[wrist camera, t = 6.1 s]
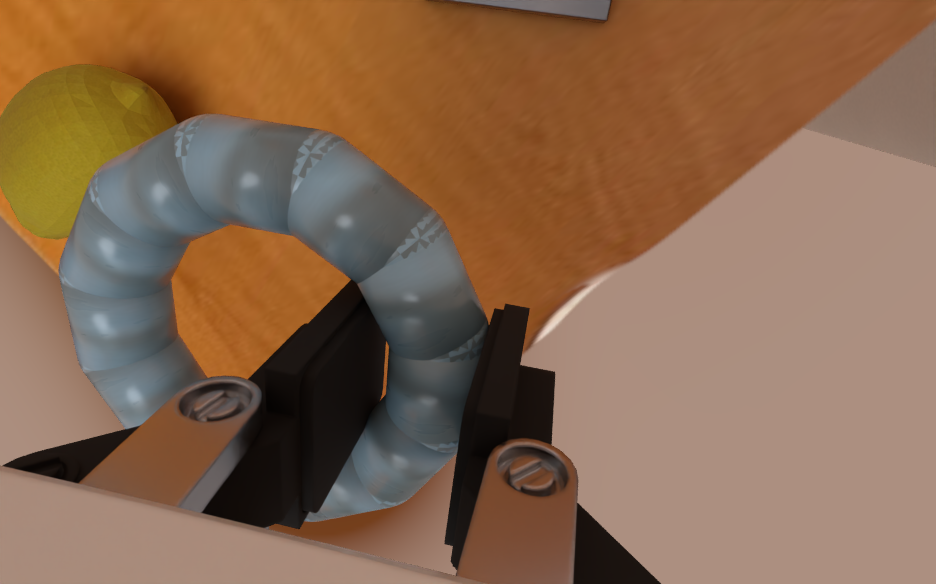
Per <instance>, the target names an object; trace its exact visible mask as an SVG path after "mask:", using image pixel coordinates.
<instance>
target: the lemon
mask: <svg viewBox="0 0 936 584" xmlns="http://www.w3.org/2000/svg"><path fill="white" fill-rule="evenodd" d="M175 125H177V122H176V120H175V118H174V116H173V114H172V112H171V110H170V109H169V107H168V106H167V104H166V103H165V101H164V100H163V98H162V97H161V96H160V95H159V94H158V93H157V92H156V91H155V90H154V89H153V88H151V87H150V86H149V85H147V84H146V83H144V82H143V81H141V80H140V79H138V78H135V77H133V76H130V75H128V74H125V73H123V72H120V71H118V70H115V69H113V68H109V67H104V66H98V65H90V64H78V65H71V66H65V67H62V68H58V69H55V70H52V71H49V72H46V73H43V74H41V75H39V76H38V77H36V78H34V79H33V80H31V81H30V82H29V83H28V84H27V85H26V86H25V87H24V88H22V89H21V90H20V91H19V92H18V93H17V94H16V95H15V96H14V97H13V99H12V100H11V101H10V102H9V104H8V105H7V107H6V108H5V110H4V111H3V113H2V115H1V117H0V186H1V189H2V191H3V193H4V195H5V197H6V199H7V200H8V201H9V203H10V205H11V207H12V209H13V211H14V213H15V215H16V217H17V219H18V221H19V222H20V223H21V224H22V226H23V227H25V228H26V229H28V230H29V231H30V232H31V233H33V234H34V235H36V236H38V237H42V238H49V239H62V238H66V237H69V235H70V232H71V229H72V227H73V224H74V221H75V219H76V216H77V213H78V211H79V208H80V205H81V203H82V200H83V197H84V195H85V192H86V189H87V187H88V184H89V182H90V180H91V178H92V177H93V175H94V173H95V172H96V171H97V170H98V168H100V167H101V166H102V165H103V164H105V163H106V162H107V161H109V160H110V159H112V158H114V157H116V156H118V155H120V154H122V153H124V152H126V151H128V150H130V149H131V148H133V147H135V146H137V145H139V144H141V143H143V142H145V141H147V140H148V139H150V138H152V137H154V136H156V135H158V134H160V133H162V132H164V131H166V130H167V129H169V128H171V127H173V126H175Z"/></svg>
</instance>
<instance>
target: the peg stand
mask: <svg viewBox="0 0 936 584" xmlns="http://www.w3.org/2000/svg"><path fill="white" fill-rule="evenodd" d="M428 1H436V2H444V3H451V4H459V5H467V6H475V7H483V8H490V9H498V10H506V11H514V12H522V13H529V14H537V15H545V16H553V17H561V18H569V19H576V20H584V21H592V22H600V23H605V22H606V21H607V20H608V15H609V10H610V6H611V1H612V0H428Z"/></svg>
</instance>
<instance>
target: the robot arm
mask: <svg viewBox="0 0 936 584" xmlns="http://www.w3.org/2000/svg"><path fill="white" fill-rule="evenodd" d="M529 309H530V308H526V307H520V306H515V305H509V304H505V307H504V310H501V309H496V308H495V309H494V312H493V315H492V318H491V322H490V325H489V328H488V331H487V335H486V338H485V341H484V344H483V348H482V351H481V354H480V357H479V361H478V364H477V367H476V370H475V374H474V377H473V380H472V383H471V387H470V390H469V393H468V396H467V400H466V403H465V407H464V412H463V417H462V422H461V429H460V436H459V443H458V450H457V457H456V464H455V472H454V479H453V486H452V493H451V500H450V508H449V514H448V522H447V528H446V536H445V544H447V545H451V546H453V549H452V556H451V563H452V564H453V567H455V568H456V570H457V573H456V576H455V575H450V574H446V573H443V572H439V571H434V570H431V569H427V568H423V567H419V566H415V565H411V564H407V563H403V562H399V561H395V560H391V559H386V558H382V557H379V556H374V555H371V554H367V553H363V552H359V551H355V550H350V549H346V548H342V547H338V546H334V545H330V544H326V543H321V542H318V541H313V540H310V539H305V538H302V537H298V536H293V535H289V534H285V533H281V532H277V531H272V530H269V526H271V525H274V524H280V525H284V526H288V527H292V528H296V529H300V527H301V525H302V524H303V522H304V520H305V519H306V517H307V515H308V514H309V512H311V513H317V512H318V511H319V510H320V508H321V507H322V505H323V503H324V501H325V499H326V498H327V496H328V494H329V492H330V490H331V489H332V487H333V485H334V483H335V481H336V480H337V478H338V476H339V474H340V472H341V471H342V469H343V467H344V465H345V463H346V462H347V460H348V458H349V456H350V454H351V452H352V451H353V449H354V447H355V445H356V443H357V442H358V440H359V438H360V436H361V434H362V433H363V431H364V429H365V426H366V423H367V420H368V418H369V415H370V413H371V411H372V410H373V409H374V407H375V406H376V405H377V404H378V403H379V402H380V399H381V395H382V391H383V380H384V363H385V347H386V339H385V337H384V335H383V333H382V331H381V329H380V327H379V325H378V324H377V322H376V320H375V318H374V316H373V314H372V312H371V310H370V308H369V306H368V304H367V302H366V300H365V298H364V296H363V294H362V292H361V290H360V289H359V287H358V285H357V283H356V282H354V281H353V280H351V281H350V282H349V283H348V284H347V285H346V286H345V287H344V288H343V289H342V290H341V291H340V292H339V293H338V294H337V295H336V296H335V297H334V298H333V299H332V300H331V301H330V302H329V303H328V304H327V305H326V306H325V307H324V308H323V309H322V310H321V311H320V312H319V313H318V314H317V315H316V316H315V317H314V318H313V319H312V320H311V321H310V322H309V323H308V324H304V325H302V326H301V327H300V328H299V329H298V330H297V331H296V332H295V333H294V334H293V335H292V336H291V337H290V338H289V339H288V340H287V341H286V342H285V343H284V344H283V345H282V346H281V347H280V348H279V349H278V350H277V351H276V352H275V353H274V354H273V355H272V356H271V357H270V358H269V359H268V360H267V361H266V362H265V363H264V364H263V365H262V366H261V367H260V368H259V369H258V370H257V371H256V372H255V373H254V374H253V375H252V376H251V377H250V378H249V379H245V378H241V377H236V376H217V377H210V378H206V379H202V380H198V381H196V382H193V383H191V384H189V385H187V386H185V387H184V388H182V389H181V390H179V391H178V392H177V393H175V394H174V395H173V396H172V397H171V398H170V399H169V400H168V401H167V402H166V403H165V404H163V405H162V406H161V407H160V408H159V409H158V410H157V411H156V412H155V413H154V414H153V415H152V416H151V417H149V418H148V419H147V420H146V421H145V422H144V423H143V424H142V425H140V426H136V427H132V428H128V429H125V430H121V431H117V432H113V433H109V434H105V435H101V436H97V437H93V438H89V439H86V440H81V441H78V442H74V443H70V444H66V445H62V446H58V447H54V448H50V449H46V450H42V451H38V452H35V453H32V454H29V455H26V456H23V457H20V458H17V459H15V460H13V461H11V462H9V463H7V464H5V465H3V466H0V584H661V583H660V582H659V581H657V579H656V578H655V577H654V576H653V575H651V574H650V573H649V572H648V571H647V570H646V569H645V568H644V567H643V566H642V565H641V564H640V563H639V562H638V561H637V560H636V559H635V558H634V557H633V556H632V555H631V554H630V553H629V552H628V551H627V550H626V549H625V548H624V547H623V546H622V545H620V544H619V543H618V542H617V541H616V540H615V539H614V538H613V537H612V536H611V535H610V534H609V533H608V532H607V531H606V530H605V529H604V528H603V527H602V526H601V525H600V524H599V523H598V522H597V521H596V520H595V519H594V518H593V517H592V516H591V515H590V514H589V513H588V512H586V511H585V510H584V509H583V508H582V507H581V506H580V505H579V504H578V503H577V496H578V476H577V470H576V468H575V467H574V465H573V463H572V462H571V460H570V459H569V458H568V457H567V456H566V455H565V454H564V453H563V452H562V451H560V450H559V449H557V448H555V447H554V446H552V445H551V444H552V424H553V406H554V387H555V372H553V371H548V370H543V369H538V368H532V367H527V366H522V365H520V362H521V356H522V351H523V345H524V339H525V333H526V327H527V321H528V315H529Z"/></svg>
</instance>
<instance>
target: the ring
mask: <svg viewBox="0 0 936 584" xmlns="http://www.w3.org/2000/svg"><path fill="white" fill-rule="evenodd" d="M228 225H236V226H241V227H247V228H253V229H258V230H264V231H269V232H275V233H280V234H286V235H291V236H294V237H296V238H297V239H298V240H300V241H301V242H302V243H304V244H305V245H306V246H308V247H309V248H310V249H312V250H313V251H314V252H316V253H317V254H318V255H320V256H321V257H322V258H324V259H325V260H326V261H328V262H329V263H330V264H332V265H333V266H334V267H336V268H337V269H338V270H340V271H341V272H342V273H344V274H345V275H346V276H348V277H349V278H350V279H352V280H353V281H354V282H356V283H357V285H358V287H359V289H360V290H361V292H362V294H363V296H364V298H365V300H366V302H367V304H368V306H369V308H370V310H371V312H372V314H373V316H374V318H375V320H376V322H377V324H378V325H379V327H380V329H381V331H382V333H383V335H384V337H385V339H386V341H387V343H388V345H389V356H388V371H387V386H386V395H385V396H384V397H383V398H382V399H381V400H380V402H379V403H378V404H377V405H376V406H375V407H374V409H373V410H372V411H371V413H370V415H369V418H368V420H367V423H366V426H365V429H364V431H363V433H362V434H361V436H360V438H359V440H358V442H357V443H356V445H355V447H354V449H353V451H352V452H351V454H350V456H349V458H348V460H347V462H346V463H345V465H344V467H343V469H342V471H341V472H340V474H339V476H338V478H337V480H336V481H335V483H334V485H333V487H332V489H331V490H330V492H329V494H328V496H327V498H326V499H325V501H324V503H323V505H322V507H321V508H320V510H319V511H318V512H317V513H311V512H309V514H308V515H307V517H306V519H305V520H304V521H309V522H315V521H322V520H328V519H333V518H338V517H343V516H348V515H353V514H358V513H363V512H368V511H374V510H379V509H384V508H389V507H393V506H396V505H399V504H401V503H403V502H405V501H406V500H408V499H409V498H411V496H413V495H414V494H415V493H416V492H417V491H418V490H419V489H420V488H421V487H422V486H423V485H424V484H425V483H426V482H427V481H428V480H430V479H431V477H433V476H434V475H435V474H436V473H437V472H438V471H439V470H440V469H441V468H442V467H443V466H444V465H445V464H446V463H447V462H448V461H449V460H450V459H451V458H452V457H453V456H454V455H456V454H457V450H458V443H459V436H460V429H461V422H462V417H463V412H464V407H465V403H466V400H467V396H468V393H469V390H470V387H471V383H472V380H473V377H474V374H475V370H476V367H477V364H478V361H479V357H480V354H481V351H482V348H483V344H484V341H485V338H486V335H487V331H488V328H489V324H488V320H487V317H486V315H485V312H484V310H483V308H482V305H481V303H480V301H479V299H478V296H477V294H476V292H475V290H474V287H473V285H472V283H471V280H470V278H469V276H468V274H467V271H466V269H465V267H464V264H463V262H462V260H461V258H460V255H459V253H458V251H457V248H456V246H455V244H454V242H453V239H452V237H451V235H450V232H449V230H448V228H447V226H446V224H445V222H444V221H443V219H442V218H441V216H440V215H439V214H438V213H437V212H436V211H435V210H434V209H433V208H432V207H431V206H429V205H428V204H427V203H425V202H424V201H423V200H422V199H420V198H419V197H418V196H417V195H415V194H414V193H413V192H411V191H410V190H409V189H408V188H406V187H405V186H404V185H403V184H401V183H400V182H399V181H397V180H396V179H395V178H394V177H392V176H391V175H390V174H389V173H387V172H386V171H385V170H383V169H382V168H381V167H380V166H378V165H377V164H376V163H375V162H373V161H372V160H371V159H369V158H368V157H367V156H366V155H364V154H363V153H362V152H361V151H359V150H358V149H357V148H356V147H354V146H353V145H352V144H350V143H349V142H348V141H346V140H345V139H344V138H342V137H340V136H338V135H336V134H333V133H331V132H328V131H324V130H319V129H313V128H306V127H300V126H293V125H287V124H280V123H274V122H268V121H261V120H255V119H248V118H242V117H236V116H229V115H223V114H202V115H198V116H194V117H191V118H189V119H186V120H184V121H183V122H181V123H179V124H177V125H175V126H173V127H171V128H169V129H167V130H166V131H164V132H162V133H160V134H158V135H156V136H154V137H152V138H150V139H148V140H147V141H145V142H143V143H141V144H139V145H137V146H135V147H133V148H131V149H130V150H128V151H126V152H124V153H122V154H120V155H118V156H116V157H114V158H112V159H110V160H109V161H107V162H106V163H105V164H103V165H102V166H101V167H100V168H98V170H97V171H96V172H95V173H94V175H93V177H92V178H91V180H90V182H89V184H88V187H87V189H86V192H85V195H84V197H83V200H82V203H81V205H80V208H79V211H78V213H77V216H76V219H75V221H74V224H73V227H72V229H71V232H70V235H69V237H68V240H67V243H66V245H65V248H64V251H63V253H62V256H61V258H60V264H59V278H60V282H61V287H62V292H63V296H64V301H65V305H66V309H67V313H68V318H69V323H70V327H71V332H72V336H73V341H74V345H75V349H76V354H77V358H78V361H79V365H80V367H81V369H82V370H83V372H84V373H85V375H86V376H87V378H88V379H89V380H90V382H91V383H92V384H93V385H94V387H95V388H96V390H97V391H98V392H99V394H100V395H101V396H102V398H103V399H104V401H105V402H106V403H107V405H108V406H109V407H110V408H111V410H112V411H113V413H114V414H115V415H116V417H117V418H118V419H119V421H120V422H121V423H122V425H123V426H124V427H125V429H128V428H132V427H136V426H140V425H142V424H143V423H144V422H145V421H146V420H147V419H148V418H149V417H151V416H152V415H153V414H154V413H155V412H156V411H157V410H158V409H159V408H160V407H161V406H162V405H163V404H165V403H166V402H167V401H168V400H169V399H170V398H171V397H172V396H173V395H174V394H175V393H177V392H178V391H179V390H181V389H182V388H184V387H185V386H187V385H189V384H191V383H193V382H196V381H198V380H202V379H206V378H207V376H206V375H205V373H204V372H203V370H202V369H201V367H200V366H199V364H198V363H197V361H196V360H195V358H194V357H193V355H192V354H191V352H190V350H189V349H188V347H187V346H186V344H185V343H184V341H183V340H182V338H181V337H180V335H179V334H178V330H177V322H176V314H175V306H174V298H173V291H172V283H171V279H172V277H173V275H174V273H175V271H176V269H177V267H178V265H179V263H180V261H181V259H182V257H183V255H184V253H185V251H186V249H187V247H188V245H189V243H190V242H191V241H193V240H195V239H198V238H200V237H202V236H205V235H207V234H209V233H212V232H214V231H216V230H219V229H221V228H223V227H226V226H228Z"/></svg>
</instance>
